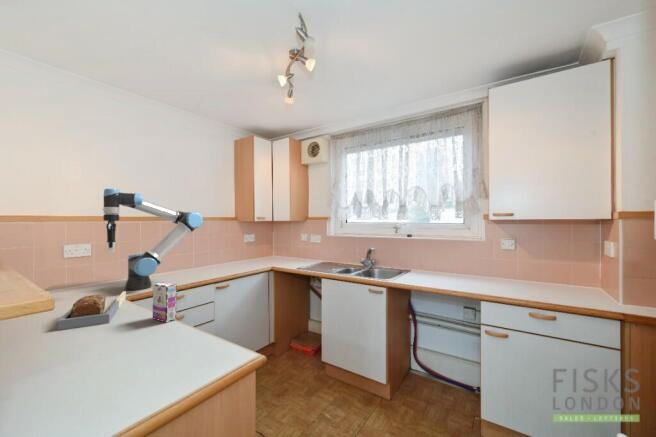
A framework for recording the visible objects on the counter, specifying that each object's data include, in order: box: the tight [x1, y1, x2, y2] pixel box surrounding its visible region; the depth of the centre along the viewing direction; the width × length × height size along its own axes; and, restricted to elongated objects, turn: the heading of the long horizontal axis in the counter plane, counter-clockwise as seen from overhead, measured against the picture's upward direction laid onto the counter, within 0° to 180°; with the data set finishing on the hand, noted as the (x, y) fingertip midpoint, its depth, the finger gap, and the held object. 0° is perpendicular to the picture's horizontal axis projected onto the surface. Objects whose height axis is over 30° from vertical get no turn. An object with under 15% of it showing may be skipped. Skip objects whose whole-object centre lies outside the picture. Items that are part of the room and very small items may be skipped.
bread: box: [70, 294, 106, 318], centre depth 128 cm, size 19×11×10 cm, turn 34°
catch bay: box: [57, 290, 127, 331], centre depth 137 cm, size 17×46×4 cm, turn 29°
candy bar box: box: [152, 281, 178, 322], centre depth 126 cm, size 11×5×16 cm, turn 62°
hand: (111, 253), depth 164 cm, fingers closed
